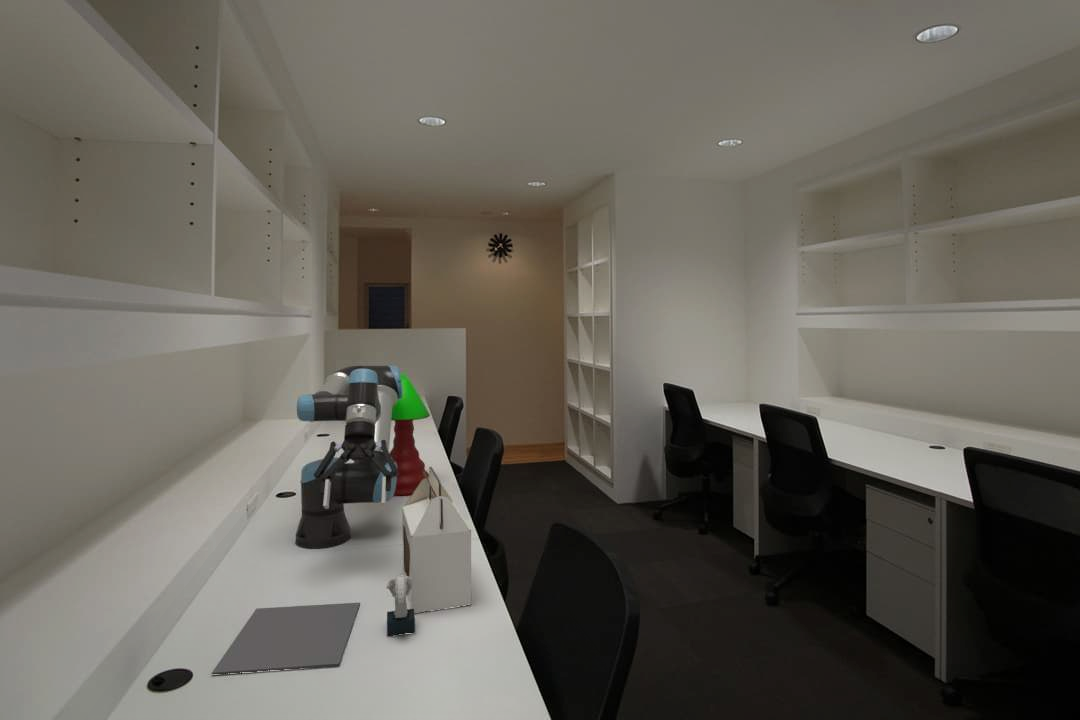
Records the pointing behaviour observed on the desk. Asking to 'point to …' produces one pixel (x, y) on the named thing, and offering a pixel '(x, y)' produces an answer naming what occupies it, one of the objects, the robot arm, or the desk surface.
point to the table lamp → (407, 439)
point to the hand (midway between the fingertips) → (354, 505)
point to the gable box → (435, 548)
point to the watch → (400, 607)
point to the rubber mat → (291, 639)
